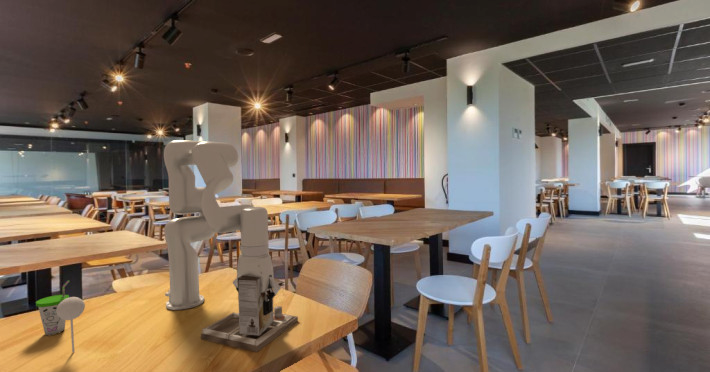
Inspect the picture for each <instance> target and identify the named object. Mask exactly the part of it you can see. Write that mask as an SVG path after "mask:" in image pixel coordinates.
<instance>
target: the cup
mask: <svg viewBox="0 0 710 372" xmlns="http://www.w3.org/2000/svg"><path fill="white" fill-rule="evenodd" d="M69 283H70V280H66V282H65V283H64V284H63V285H62V287H61V288H62V291H61V292H62V294H55V295H51V296H47V297H46V296H45V297H43V298H40V299H38V300H37V301H35V307H38V311H39V316H40V320H41V323H42V327H43V331H44V335H45V334H46V335H45V336H47V335H50V336H53V335H52V334H56V333H59V332H61V331H63V330H64V331H65V330H66V328H65V327H66V322H67V320H63V319H61V318H59V316H58V315H57V313H56V309H57V307H58V305H59V304H60V302H62V301H63V300H64V299H66V298H69V297H70V295H69V294H66V292H65V291H66V290H65V287H66V286H67V285H68V284H69ZM64 331H63V332H64ZM61 333H62V332H61ZM59 334H60V333H59ZM56 335H57V334H56Z"/></svg>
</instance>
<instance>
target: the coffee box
mask: <svg viewBox="0 0 710 372" xmlns="http://www.w3.org/2000/svg"><path fill="white" fill-rule="evenodd" d="M271 290H272V291H273V288H271ZM266 292H267V291H266ZM237 293H238V294H237V296H238V298H237V299H238V300H237V302H238V313H239V329H240V334H246V335H257V336H260V335H261V334H262V333H263V332H264V331H265V330H266V329H267V328H268V327H269V326H270V325H271V324H272V323H273V322H274V313H273V312H274V298H273V299H272V312H270V313H269V314H267V315H264V314H263V301H265V299H264V297H263V293H261V292H260V278H257V277H251V276H243V275H242V276H240V277H239V278H238V291H237ZM267 295H268V292H267Z"/></svg>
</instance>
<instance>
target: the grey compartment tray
mask: <svg viewBox="0 0 710 372" xmlns="http://www.w3.org/2000/svg"><path fill="white" fill-rule="evenodd" d="M273 313H274V322H273V323H272V324H271V325H270V326H269V327H268V328H267V329H266V330H265V331H264V332H263V333H262V334H261V335H260V336H257V335H246V334H240V329H239V312H232V313H230V314H228V315H226V316H224V317H222V318H220V319H219V320H217V321H215V322H213V323H211V324H209V325H208V326H206V327H204V328H202V329H201V333H200V339H201V340H203V341H208V342H211V343H217V344H219V345H220V344H221V345H224V346H229V347H233V348H237V349H242V350H245V351H246V350H247V351H250V352H255V353H258V352H260V351H261V350H262V349H263V348H264V347H266V346H268V345H269V344H270V343H271V342H273V340H275V339H276V338H278V337H279V336H281V334H283V333H284V332H286V331H287V330H289V329H290V328H291V327H292V326H294V325H295V324H296V323H298V322H299V317H298V315H297V316H296V315H291V314H284V313H283V307H282V306H281V305H277V306H273Z"/></svg>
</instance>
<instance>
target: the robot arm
mask: <svg viewBox="0 0 710 372" xmlns="http://www.w3.org/2000/svg"><path fill="white" fill-rule="evenodd" d="M163 160H164V165H165V168H166V171H167V175H168V204H169V205H168V207H169V210H170V212H171V213H172V214H174V215H188V214H189V215H190V214H198V213H199V215H195V216H186V217H179V218H174V219H171V220H169V221H168V222H166V223H165V225H164V228H163V229H164V230H163V231H164V237H165V240H166V241H165V243H166V246H167V253H168V255H167V256H168V270H169V271H168V274H169V289H168V292H165V293H164V296H165V297H168V300H167V301H166V303H165V308H166V309H168V310H171V311H182V310H188V309H192V308H194V307H197V306H200V305H201V304H202V303H203V302H205V297H204V295H201V294H200V281H199V280H200V276H199V256H198V255H199V254H198V253H197V250H195V248H194V247H193V246H192V245H191V244H192V243H196V242H202V241H207V240H208V241H209V240H210V239H212V238H213V237H214V236H215V234H224V233H225V234H226V233H231V232H238V231H240V245H239V247H238V248H239V250H241V253H240V254H239V256H238V260H237V267H236V278H235V279H234V280H233V281H232V284H233V286H234V287H235V290H236V292H238V278H239V277H240V276H242V275H243V276H251V277H257V278H260V292H261V293H263V297H264V299H265V301H263V314H264V315H267V314H269V313H270V312H272V299H273V300H274V298H275V296H277V295H278V293H279V291H280V290H281V285H280V284H278V282H277V281H276V280H275V279H274V278H275V277H274V267H273V262H272V261H273V260H272V256H271V254H270V253H269V251H270V250H269V221H268V220H269V217H268V209H266V208H265V207H261V206H254V205H253V204H238V205H236V204H235V205H228V206H227V205H226V206H220V205H219V203H218V201H217V199H216V195H218V193H221V192H222V191H224V190H226V189H227V188H229V187H230V185H232V183H233V181H234V175H233V173H232V171H231V169H230V168H233V167H234V166H236V165H237V163H238V162H239V153H238V150H237V148H236V147H235V145H233V144H232V143H229V142H222V141H221V142H219V141H218V142H217V141H206V140H205V141H204V140H203V141H202V140H189V139H188V140H187V139H186V140H184V139H183V140H181V139H180V140H172V141H169V142H168V143H167V144H166V145H165V147H164V151H163ZM190 166H196V168H197V170H198V172H199V174H200V176H201V179H202V180H203V183H204V184H205V186H197V187H196V175H195V173H194V171H193V169H192V168H191V167H190ZM271 288H273V291H272V290H271ZM266 291H267V292H268V295H267V292H266Z"/></svg>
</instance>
